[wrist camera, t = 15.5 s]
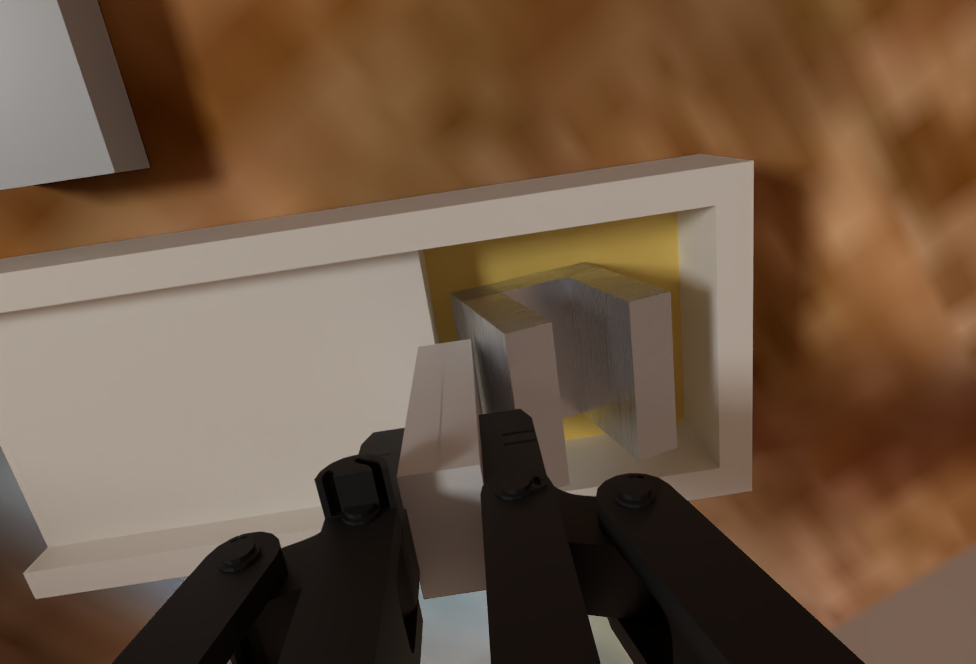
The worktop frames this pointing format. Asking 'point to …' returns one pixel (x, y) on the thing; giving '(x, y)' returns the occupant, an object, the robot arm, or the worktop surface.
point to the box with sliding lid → (336, 354)
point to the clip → (575, 356)
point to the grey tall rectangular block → (61, 96)
